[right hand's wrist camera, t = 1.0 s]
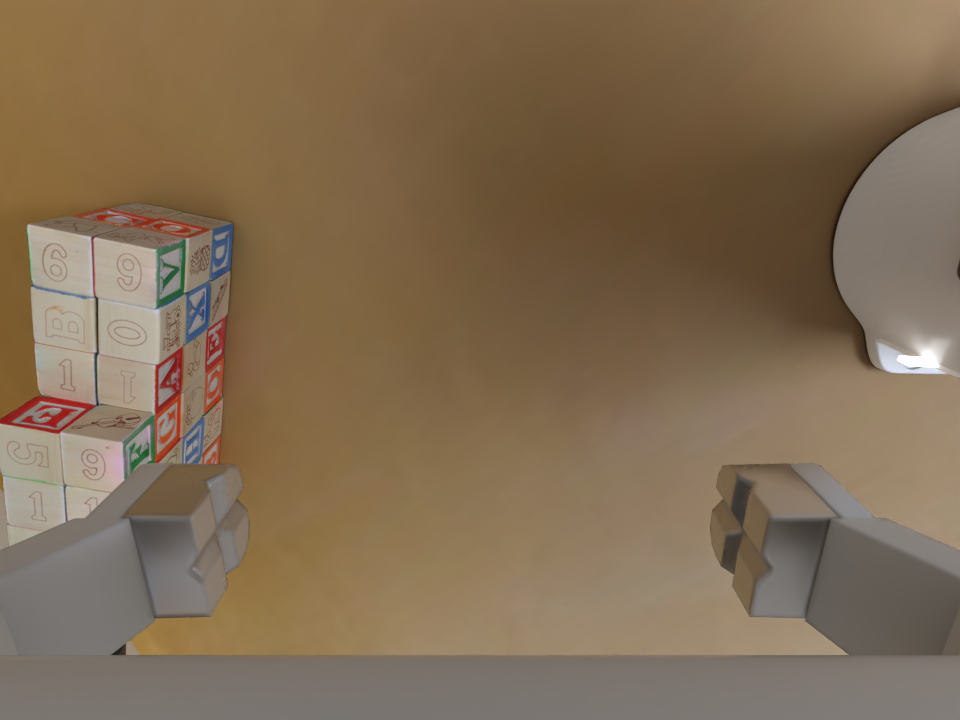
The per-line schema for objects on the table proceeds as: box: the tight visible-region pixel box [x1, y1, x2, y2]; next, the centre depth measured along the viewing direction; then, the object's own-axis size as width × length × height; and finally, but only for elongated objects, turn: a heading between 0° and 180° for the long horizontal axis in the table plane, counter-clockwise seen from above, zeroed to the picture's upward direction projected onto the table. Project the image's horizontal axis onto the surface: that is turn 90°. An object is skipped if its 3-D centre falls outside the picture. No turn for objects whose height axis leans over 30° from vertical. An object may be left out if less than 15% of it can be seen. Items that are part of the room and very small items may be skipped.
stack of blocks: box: [0, 203, 233, 547], centre depth 35 cm, size 21×6×12 cm, turn 168°
